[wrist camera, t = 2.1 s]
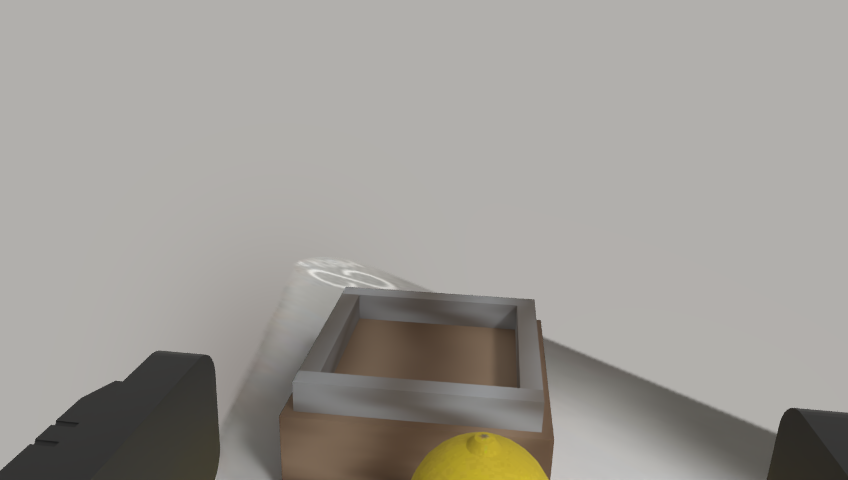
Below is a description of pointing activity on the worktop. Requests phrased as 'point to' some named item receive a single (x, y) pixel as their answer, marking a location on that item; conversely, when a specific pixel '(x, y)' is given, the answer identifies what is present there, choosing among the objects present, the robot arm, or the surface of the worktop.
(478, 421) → the square wooden box
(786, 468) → the robot arm
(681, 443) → the worktop surface
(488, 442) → the lemon
